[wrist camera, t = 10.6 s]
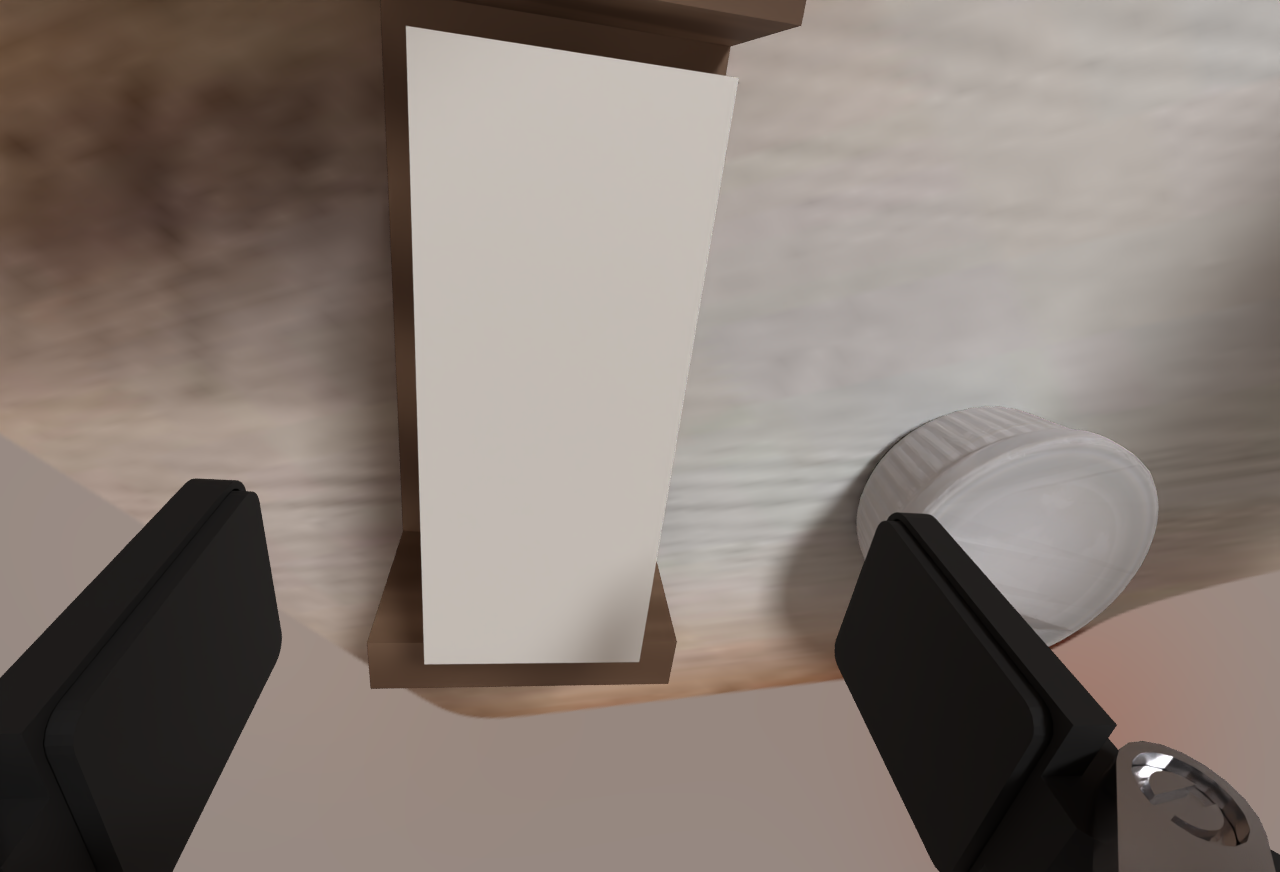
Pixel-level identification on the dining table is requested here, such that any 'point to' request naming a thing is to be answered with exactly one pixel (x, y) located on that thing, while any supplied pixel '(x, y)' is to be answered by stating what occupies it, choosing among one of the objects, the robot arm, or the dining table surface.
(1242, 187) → the dining table surface
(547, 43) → the peg frame
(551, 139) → the shelf board
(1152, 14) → the dining table surface
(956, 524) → the ramekin
